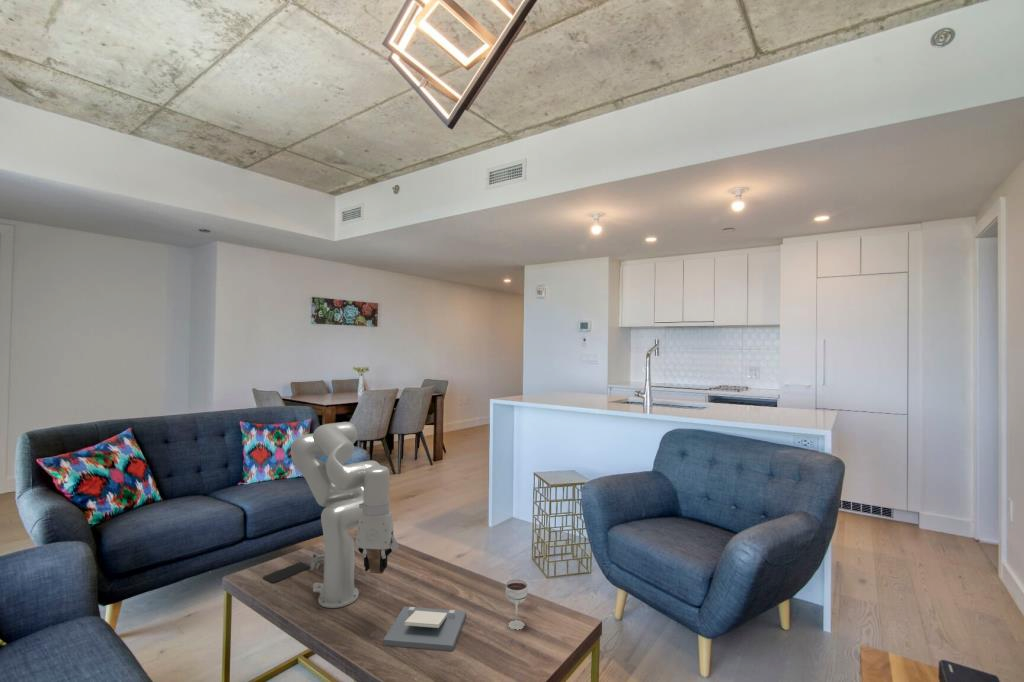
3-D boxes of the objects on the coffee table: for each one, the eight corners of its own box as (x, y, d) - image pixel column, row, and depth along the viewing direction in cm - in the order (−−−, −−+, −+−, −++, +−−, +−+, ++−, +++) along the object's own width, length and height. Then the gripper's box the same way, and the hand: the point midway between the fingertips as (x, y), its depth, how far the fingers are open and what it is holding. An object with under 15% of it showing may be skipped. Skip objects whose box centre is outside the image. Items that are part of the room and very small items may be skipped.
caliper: (312, 573, 175) (312, 556, 175) (310, 572, 175) (310, 555, 175) (355, 552, 192) (355, 536, 192) (353, 551, 193) (353, 536, 193)
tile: (415, 610, 145) (415, 614, 145) (404, 621, 136) (404, 625, 135) (447, 612, 144) (447, 616, 144) (438, 624, 134) (438, 628, 134)
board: (383, 645, 133) (383, 633, 133) (404, 611, 149) (404, 601, 149) (452, 651, 130) (452, 639, 130) (466, 616, 147) (466, 606, 147)
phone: (311, 566, 178) (273, 582, 166) (311, 568, 178) (273, 585, 166) (300, 561, 182) (261, 576, 170) (300, 563, 182) (261, 579, 170)
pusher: (369, 572, 143) (365, 545, 140) (374, 562, 146) (371, 536, 143) (382, 573, 142) (378, 546, 139) (387, 563, 146) (383, 537, 143)
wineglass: (502, 620, 145) (502, 581, 145) (522, 616, 147) (522, 577, 147) (509, 633, 138) (510, 592, 138) (531, 628, 141) (531, 588, 141)
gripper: (343, 511, 139) (343, 573, 139) (398, 514, 137) (397, 577, 137) (355, 502, 147) (354, 562, 147) (407, 505, 145) (406, 565, 145)
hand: (375, 568), depth 142 cm, fingers closed on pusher, 4 cm apart
